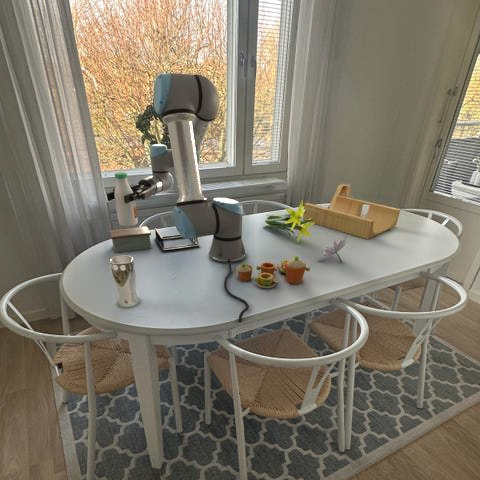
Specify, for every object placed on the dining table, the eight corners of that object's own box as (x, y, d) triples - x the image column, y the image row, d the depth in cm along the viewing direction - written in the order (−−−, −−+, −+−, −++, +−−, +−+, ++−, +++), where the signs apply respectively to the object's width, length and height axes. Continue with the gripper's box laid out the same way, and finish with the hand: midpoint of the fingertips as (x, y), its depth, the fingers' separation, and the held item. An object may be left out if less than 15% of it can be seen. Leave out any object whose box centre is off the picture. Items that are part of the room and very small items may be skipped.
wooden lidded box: (152, 248, 150) (150, 232, 146) (114, 253, 144) (111, 237, 140) (148, 241, 156) (146, 226, 152) (112, 246, 151) (108, 230, 147)
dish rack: (199, 247, 152) (198, 235, 149) (163, 252, 147) (162, 239, 144) (188, 235, 165) (187, 223, 162) (155, 239, 160) (153, 227, 156)
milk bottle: (132, 227, 141) (125, 175, 130) (115, 225, 142) (106, 174, 131) (141, 221, 147) (134, 172, 136) (124, 220, 148) (116, 170, 137)
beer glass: (120, 297, 114) (112, 254, 106) (141, 296, 114) (135, 254, 106) (115, 308, 108) (106, 264, 100) (138, 307, 109) (131, 264, 100)
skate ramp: (302, 221, 190) (305, 191, 181) (338, 208, 210) (343, 180, 201) (367, 241, 166) (374, 207, 157) (401, 224, 186) (409, 194, 177)
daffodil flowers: (285, 225, 184) (331, 226, 154) (266, 243, 181) (309, 248, 151) (269, 199, 175) (314, 195, 145) (249, 218, 172) (291, 217, 143)
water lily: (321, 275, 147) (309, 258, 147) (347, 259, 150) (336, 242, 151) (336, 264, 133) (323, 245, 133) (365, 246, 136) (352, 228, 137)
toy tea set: (291, 266, 138) (294, 243, 133) (312, 282, 126) (316, 258, 121) (231, 275, 129) (231, 251, 124) (247, 294, 117) (248, 268, 112)
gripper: (170, 198, 151) (139, 211, 133) (131, 192, 157) (97, 205, 139) (168, 180, 147) (136, 191, 129) (129, 175, 153) (93, 185, 135)
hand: (116, 198), depth 134 cm, fingers closed on milk bottle, 7 cm apart
